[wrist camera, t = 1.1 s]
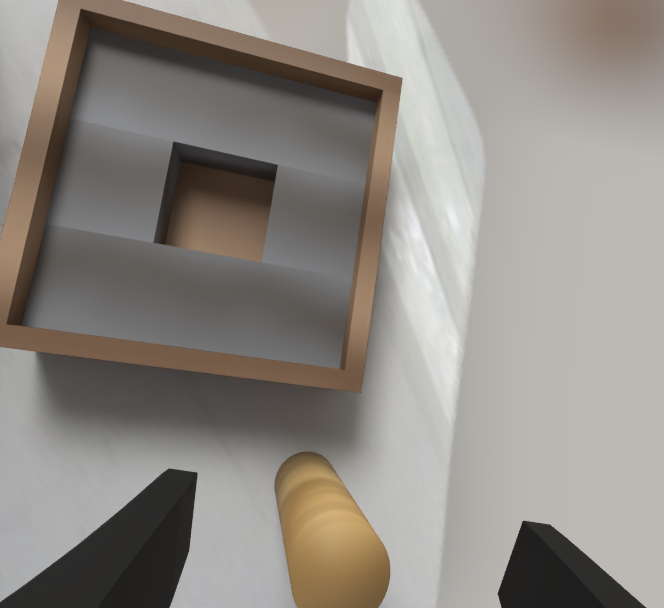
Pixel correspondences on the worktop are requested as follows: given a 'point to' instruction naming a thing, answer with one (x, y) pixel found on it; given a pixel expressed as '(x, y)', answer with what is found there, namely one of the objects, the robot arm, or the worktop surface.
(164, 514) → the robot arm
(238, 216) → the tray
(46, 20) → the worktop surface
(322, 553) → the peg
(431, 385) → the worktop surface
